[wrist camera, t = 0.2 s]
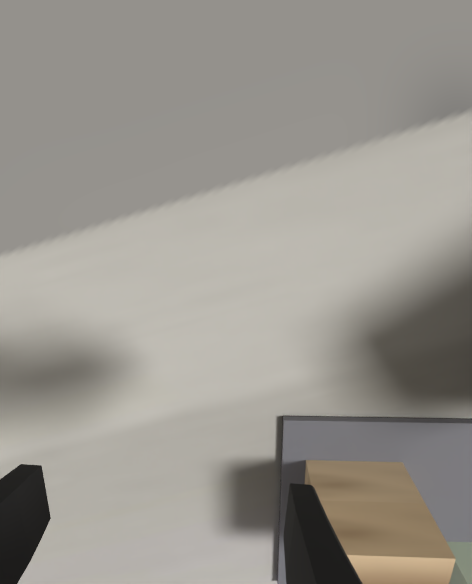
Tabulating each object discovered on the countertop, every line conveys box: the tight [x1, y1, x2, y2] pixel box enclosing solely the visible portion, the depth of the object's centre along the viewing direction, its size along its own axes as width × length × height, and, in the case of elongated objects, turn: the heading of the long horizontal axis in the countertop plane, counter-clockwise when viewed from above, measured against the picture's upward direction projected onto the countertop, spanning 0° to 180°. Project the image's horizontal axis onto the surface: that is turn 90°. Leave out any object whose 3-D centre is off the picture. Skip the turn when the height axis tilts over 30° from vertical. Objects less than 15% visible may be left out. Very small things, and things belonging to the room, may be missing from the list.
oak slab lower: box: [305, 460, 425, 503], centre depth 20 cm, size 6×6×3 cm
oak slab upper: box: [320, 500, 456, 584], centre depth 17 cm, size 6×6×3 cm
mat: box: [277, 416, 472, 584], centre depth 22 cm, size 15×17×1 cm
